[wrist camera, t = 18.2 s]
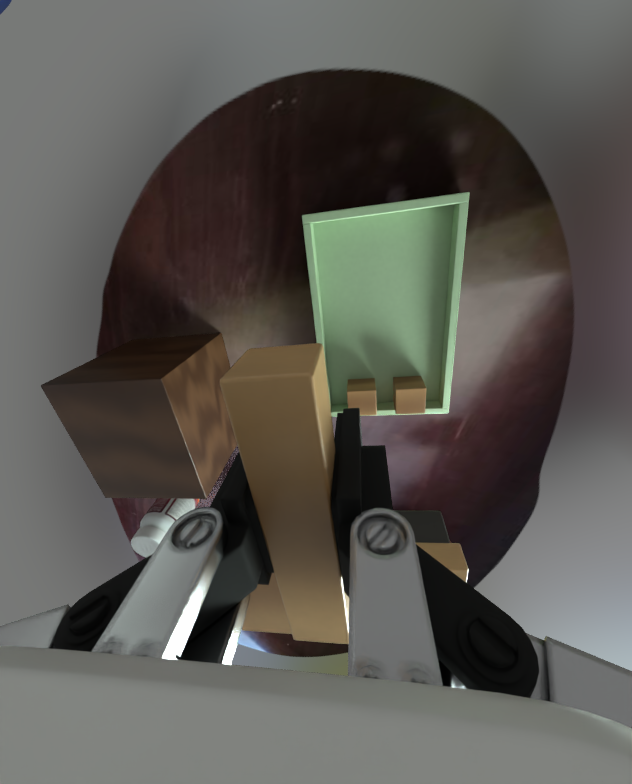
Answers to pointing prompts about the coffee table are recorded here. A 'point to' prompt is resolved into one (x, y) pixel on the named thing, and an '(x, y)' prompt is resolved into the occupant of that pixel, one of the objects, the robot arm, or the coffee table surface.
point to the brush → (301, 492)
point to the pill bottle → (159, 523)
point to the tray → (388, 294)
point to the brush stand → (150, 416)
